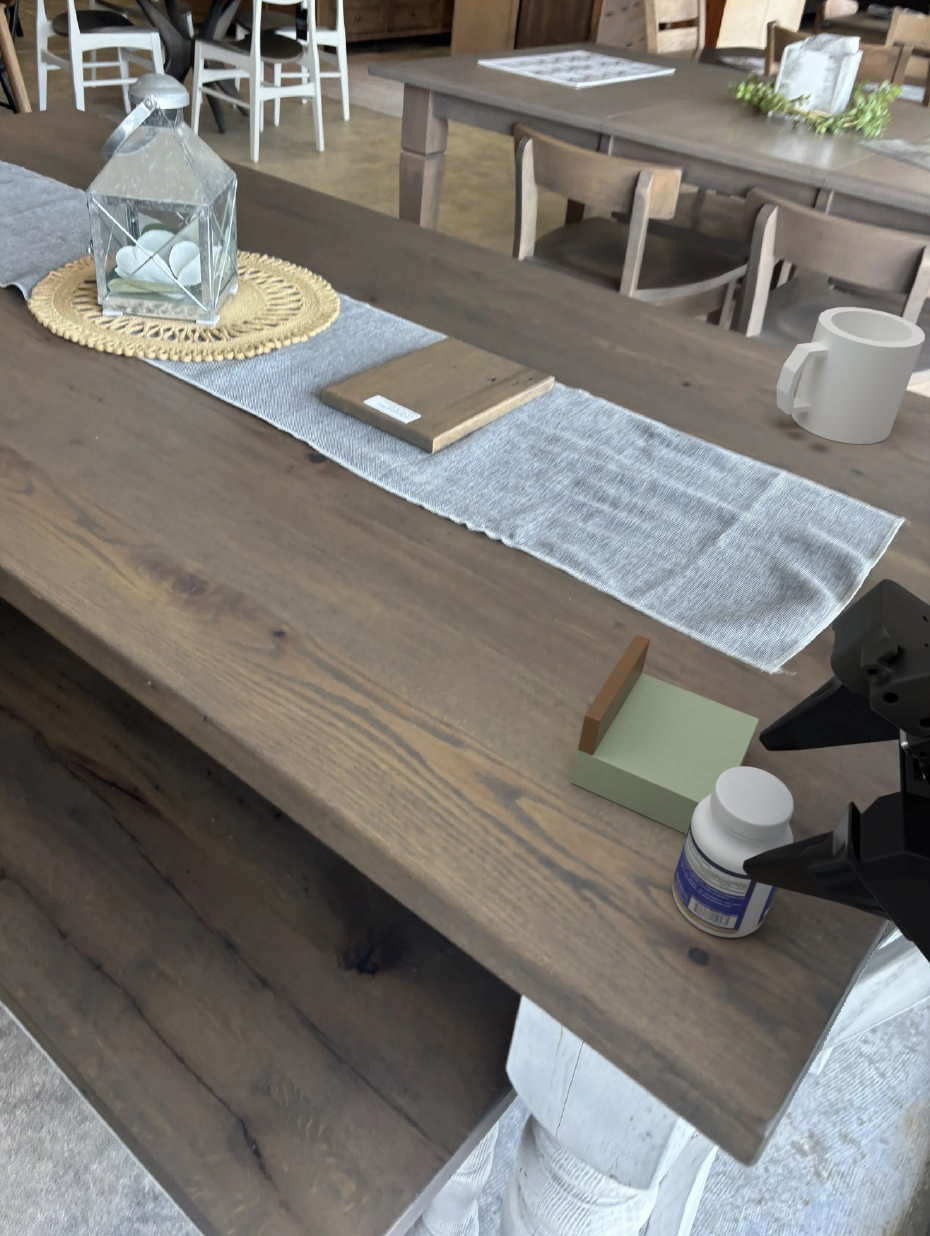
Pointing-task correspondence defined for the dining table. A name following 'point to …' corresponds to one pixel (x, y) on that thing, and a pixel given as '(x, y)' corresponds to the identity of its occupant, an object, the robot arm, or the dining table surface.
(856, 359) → the mug
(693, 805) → the low shelf
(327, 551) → the dining table surface
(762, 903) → the pill bottle
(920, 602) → the robot arm
